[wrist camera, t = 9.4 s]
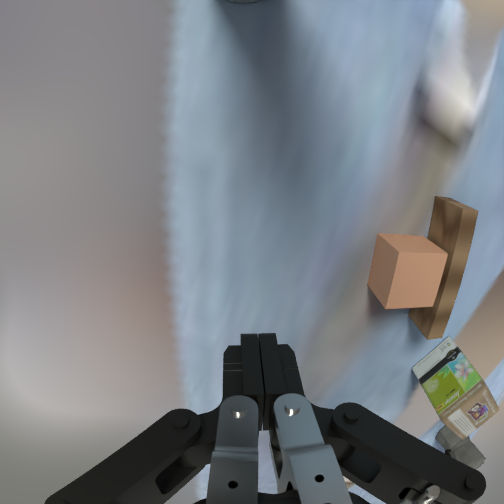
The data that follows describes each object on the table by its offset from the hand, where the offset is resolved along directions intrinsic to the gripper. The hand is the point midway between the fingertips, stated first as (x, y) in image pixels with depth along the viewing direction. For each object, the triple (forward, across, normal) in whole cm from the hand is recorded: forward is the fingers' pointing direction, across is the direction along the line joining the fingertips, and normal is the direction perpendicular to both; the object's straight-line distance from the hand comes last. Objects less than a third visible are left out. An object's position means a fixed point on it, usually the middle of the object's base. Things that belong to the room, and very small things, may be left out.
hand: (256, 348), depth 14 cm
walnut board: (+28, -29, +9) cm, 42 cm away
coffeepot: (+27, -55, +60) cm, 86 cm away
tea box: (+28, -41, +33) cm, 59 cm away
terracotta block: (+28, -23, +9) cm, 37 cm away
